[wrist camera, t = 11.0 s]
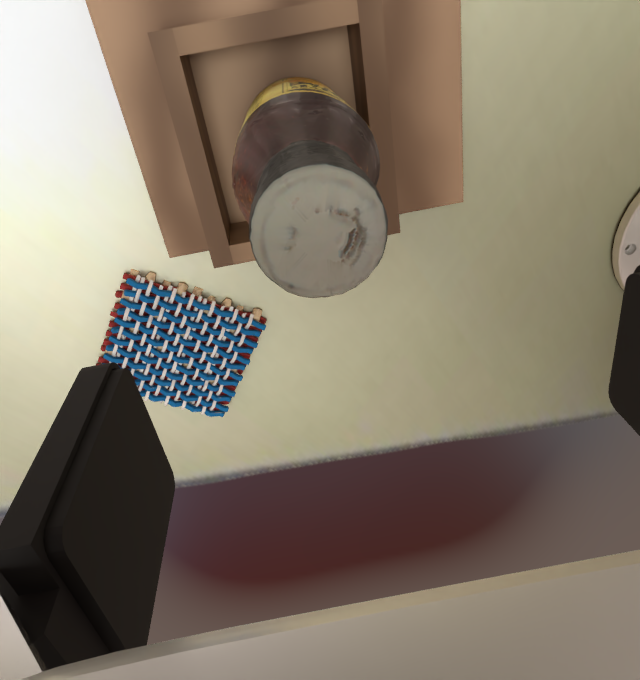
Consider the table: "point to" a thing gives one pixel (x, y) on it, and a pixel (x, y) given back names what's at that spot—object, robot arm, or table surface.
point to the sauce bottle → (309, 189)
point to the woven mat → (180, 343)
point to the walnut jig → (264, 69)
